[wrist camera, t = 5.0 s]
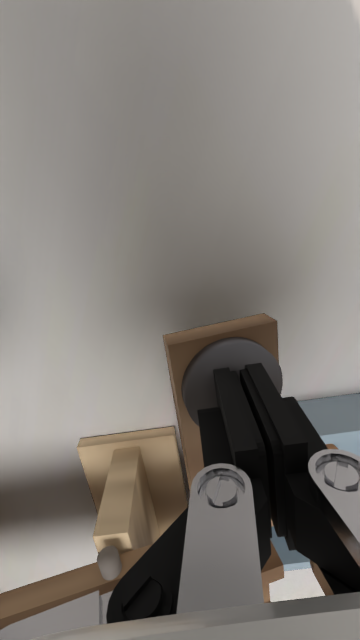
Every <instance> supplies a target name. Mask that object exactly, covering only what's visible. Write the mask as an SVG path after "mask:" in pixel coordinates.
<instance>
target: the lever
mask: <svg viewBox="0 0 360 640" xmlns="http://www.w3.org/2000/svg"><path fill="white" fill-rule="evenodd" d="M163 339H164V345H165V351H166V357H167V362H168V368H169V374H170V380H171V386H172V391H173V397H174V403H175V409H176V414H177V420H178V426H179V432H180V438H181V443H182V449H183V455H184V461H185V466H186V472H187V478H188V484H189V490H191V485H192V481H193V479H194V477H195V476H196V475H197V473H198V472H199V471H201V470H202V469H203V468H204V462H203V454H202V445H201V437H200V429H199V420H198V412H197V410H199V409H206V408H213V407H218V405H217V397H216V389H215V381H214V373H213V369H220V368H227V367H229V369H230V371H236V373H237V375H238V378H239V380H240V370H242V369H245V365H248V364H255V363H262V365H263V367H264V368H265V370H266V372H267V373H268V375H269V377H270V378H271V380H272V382H273V384H274V385H275V387H276V389H277V390H278V392H279V394H281V390H282V372H281V368H280V366H279V359H278V333H277V321H276V320H274V319H273V318H271V317H269V316H268V315H266V314H264V313H263V314H258V315H253V316H249V317H244V318H240V319H235V320H230V321H226V322H221V323H217V324H212V325H207V326H203V327H198V328H194V329H189V330H184V331H180V332H175V333H171V334H166V335H163ZM271 525H272V526H273V523H272V520H271ZM270 541H271V540H270ZM153 544H154V543H153ZM153 544H150V545H147V546H144V547H141V548H138V549H135V550H132V551H129V552H126V553H123V554H120V555H119V553H118V550H117V548H116V547H115V546H107V547H105V548H103V549H102V550H101V551H100V553H99V554H98V557H97V562H96V563H92V564H89V565H86V566H83V567H80V568H77V569H74V570H71V571H68V572H65V573H62V574H59V575H56V576H53V577H50V578H47V579H44V580H41V581H38V582H35V583H31V584H28V585H25V586H22V587H19V588H16V589H13V590H10V591H7V592H4V593H1V594H0V630H1V629H3V628H5V627H7V626H8V625H10V624H13V623H15V622H18V621H21V620H23V619H26V618H28V617H31V616H33V615H36V614H39V613H41V612H44V611H46V610H49V609H52V608H54V607H57V606H59V605H62V604H64V603H67V602H70V601H72V600H75V599H77V598H80V597H83V596H85V595H88V594H90V593H93V592H95V591H98V590H99V592H100V595H103V594H106V593H108V592H111V591H113V590H114V588H115V586H116V585H117V584H118V582H119V581H120V580H121V578H122V577H123V576H124V575H125V574H126V573H127V572H128V571H129V569H130V568H131V567H132V566H133V565H134V564H135V563H136V562H137V561H138V560H139V559H140V558H141V557H142V556H143V554H144V553H145V552H146V551H147V550H148V549H149V548H150V547H151V546H152V545H153ZM261 577H262V587H263V596H264V603H270V594H269V583H272V582H274V581H277V580H280V579H282V578H284V565H283V563H282V561H281V559H280V557H279V555H278V553H277V551H276V549H275V547H274V546H273V544H272V542H271V556H270V557H269V559H268V561H267V562H266V564H265V566H264V567H263V569H262V571H261Z"/></svg>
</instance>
